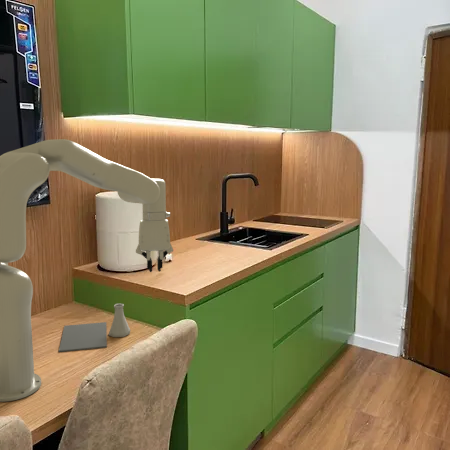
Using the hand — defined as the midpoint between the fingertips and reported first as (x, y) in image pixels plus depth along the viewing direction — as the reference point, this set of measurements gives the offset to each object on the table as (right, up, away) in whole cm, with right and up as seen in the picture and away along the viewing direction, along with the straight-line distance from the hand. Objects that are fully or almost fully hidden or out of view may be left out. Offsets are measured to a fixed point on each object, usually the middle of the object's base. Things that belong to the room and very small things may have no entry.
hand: (154, 270), depth 144 cm
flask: (-12, -21, 0) cm, 25 cm away
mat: (-23, -21, -3) cm, 31 cm away
